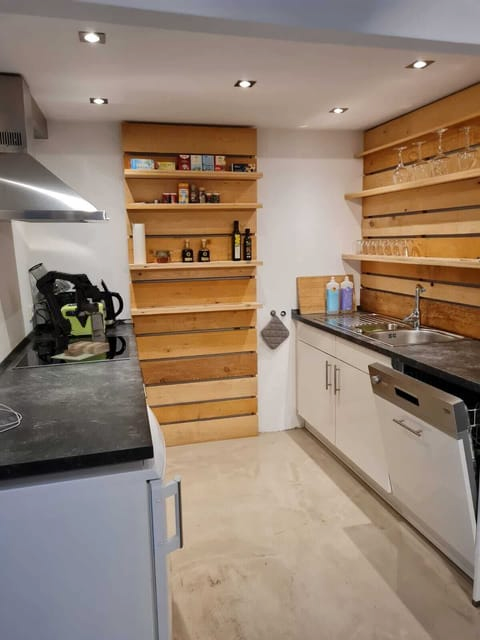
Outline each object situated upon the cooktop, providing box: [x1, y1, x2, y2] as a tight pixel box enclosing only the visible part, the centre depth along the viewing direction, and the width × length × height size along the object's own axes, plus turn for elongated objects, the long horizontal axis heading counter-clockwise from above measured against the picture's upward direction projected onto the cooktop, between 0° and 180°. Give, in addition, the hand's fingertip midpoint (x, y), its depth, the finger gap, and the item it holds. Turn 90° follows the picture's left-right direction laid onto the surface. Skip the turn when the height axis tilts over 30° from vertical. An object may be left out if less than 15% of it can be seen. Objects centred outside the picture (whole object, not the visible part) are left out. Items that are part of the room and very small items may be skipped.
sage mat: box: [50, 352, 96, 361], centre depth 239 cm, size 18×11×1 cm, turn 66°
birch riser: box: [67, 340, 110, 356], centre depth 249 cm, size 18×10×4 cm, turn 66°
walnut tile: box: [63, 349, 83, 357], centre depth 240 cm, size 7×5×2 cm
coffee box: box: [89, 311, 106, 343], centre depth 277 cm, size 9×6×16 cm
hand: (83, 327), depth 253 cm, fingers closed
